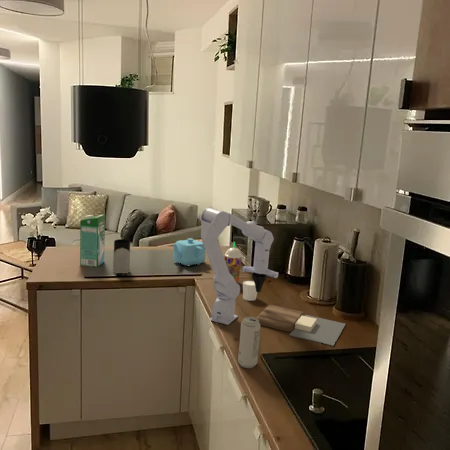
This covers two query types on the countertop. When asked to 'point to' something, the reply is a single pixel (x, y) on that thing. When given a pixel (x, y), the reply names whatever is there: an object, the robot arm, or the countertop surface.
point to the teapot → (189, 252)
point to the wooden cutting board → (279, 317)
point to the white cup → (249, 290)
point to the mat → (321, 331)
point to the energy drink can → (249, 342)
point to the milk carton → (92, 240)
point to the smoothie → (233, 261)
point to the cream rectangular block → (305, 323)
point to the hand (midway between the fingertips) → (258, 291)
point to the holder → (121, 256)
